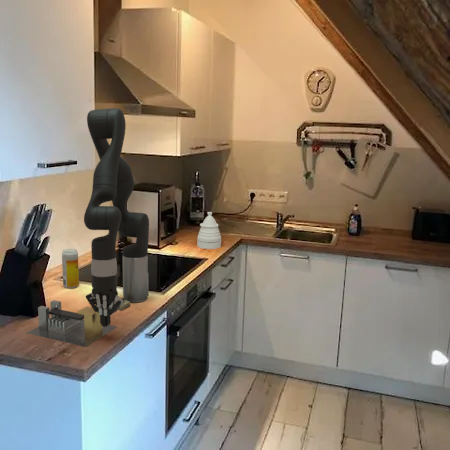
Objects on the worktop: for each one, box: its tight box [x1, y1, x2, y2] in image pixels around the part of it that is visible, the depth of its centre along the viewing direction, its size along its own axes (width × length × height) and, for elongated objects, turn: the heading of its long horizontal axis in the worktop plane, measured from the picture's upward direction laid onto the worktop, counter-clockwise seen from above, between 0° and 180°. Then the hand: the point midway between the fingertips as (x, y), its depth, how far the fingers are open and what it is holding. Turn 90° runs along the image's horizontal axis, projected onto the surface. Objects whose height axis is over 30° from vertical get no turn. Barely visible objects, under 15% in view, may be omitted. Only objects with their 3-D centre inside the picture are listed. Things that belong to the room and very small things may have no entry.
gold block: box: [77, 306, 103, 339], centre depth 156 cm, size 5×6×8 cm
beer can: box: [61, 248, 80, 290], centre depth 200 cm, size 6×6×15 cm
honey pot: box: [196, 211, 222, 250], centre depth 269 cm, size 13×13×18 cm
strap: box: [49, 307, 84, 321], centre depth 159 cm, size 3×14×1 cm, turn 68°
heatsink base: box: [26, 299, 117, 348], centre depth 159 cm, size 16×22×8 cm
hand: (105, 325), depth 154 cm, fingers closed
